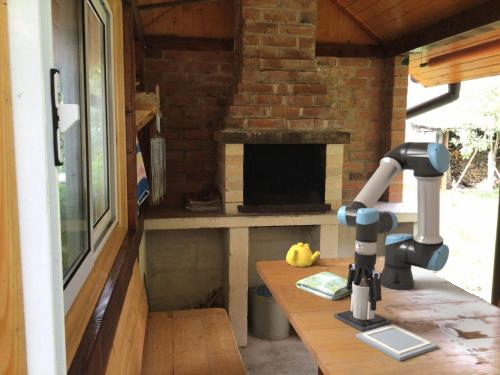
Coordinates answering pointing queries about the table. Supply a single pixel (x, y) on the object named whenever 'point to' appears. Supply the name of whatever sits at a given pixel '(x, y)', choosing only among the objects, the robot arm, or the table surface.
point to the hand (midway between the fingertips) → (362, 314)
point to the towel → (325, 285)
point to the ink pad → (361, 321)
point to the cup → (360, 300)
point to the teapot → (301, 255)
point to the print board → (396, 341)
